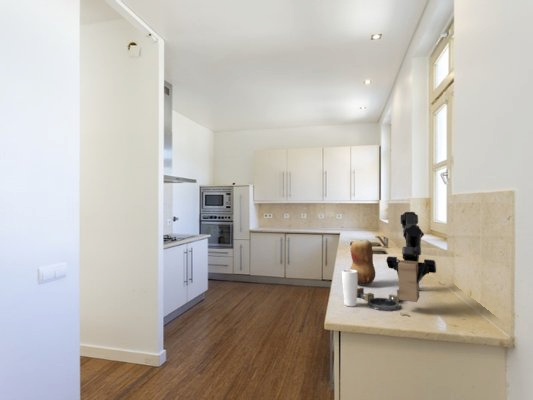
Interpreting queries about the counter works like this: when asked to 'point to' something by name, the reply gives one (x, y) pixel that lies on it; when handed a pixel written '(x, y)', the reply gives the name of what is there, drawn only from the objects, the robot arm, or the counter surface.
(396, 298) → the shaft
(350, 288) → the drinking glass
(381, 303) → the dark grey shallow bowl
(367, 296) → the shaft
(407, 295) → the coupling post
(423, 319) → the counter surface
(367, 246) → the butternut squash
